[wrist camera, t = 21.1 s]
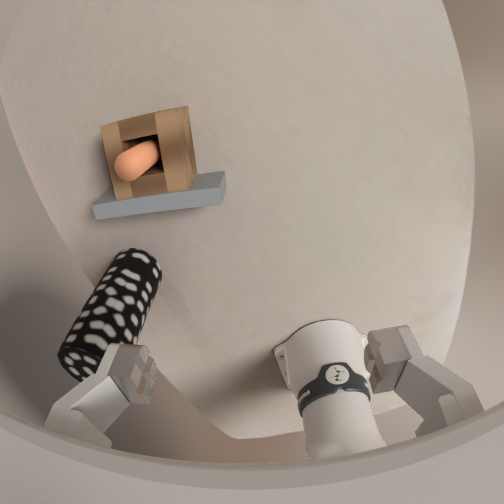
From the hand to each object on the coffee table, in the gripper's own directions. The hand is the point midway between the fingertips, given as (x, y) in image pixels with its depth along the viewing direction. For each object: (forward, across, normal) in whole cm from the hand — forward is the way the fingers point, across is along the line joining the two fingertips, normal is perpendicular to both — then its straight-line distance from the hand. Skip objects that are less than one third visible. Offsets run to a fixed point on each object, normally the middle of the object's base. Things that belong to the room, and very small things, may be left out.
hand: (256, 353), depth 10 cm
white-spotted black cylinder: (+30, +20, +14) cm, 39 cm away
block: (+29, +12, -4) cm, 32 cm away
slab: (+29, +12, +1) cm, 32 cm away
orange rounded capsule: (+29, +12, -4) cm, 32 cm away
